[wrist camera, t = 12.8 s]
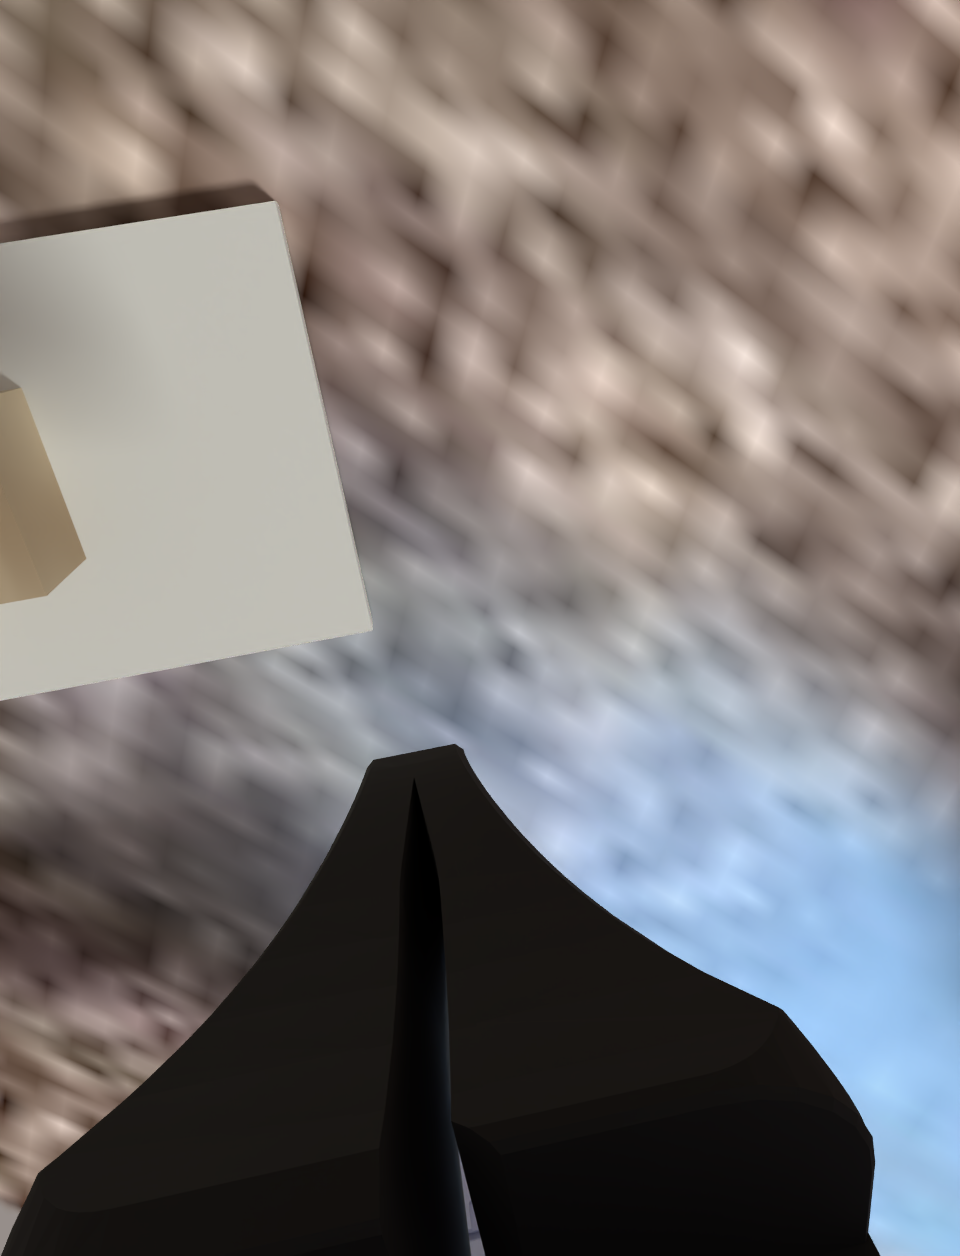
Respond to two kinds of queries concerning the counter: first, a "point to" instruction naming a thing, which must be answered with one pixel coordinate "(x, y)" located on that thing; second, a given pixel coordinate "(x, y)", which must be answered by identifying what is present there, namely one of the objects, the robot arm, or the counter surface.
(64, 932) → the counter surface
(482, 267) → the counter surface
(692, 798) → the counter surface
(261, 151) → the counter surface
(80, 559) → the green-faced wooden block
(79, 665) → the mat
